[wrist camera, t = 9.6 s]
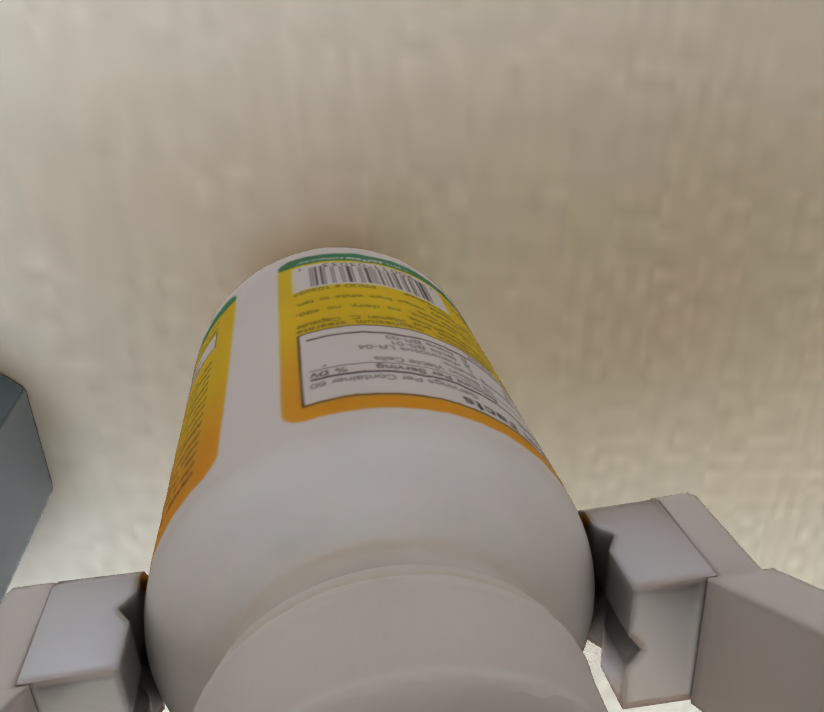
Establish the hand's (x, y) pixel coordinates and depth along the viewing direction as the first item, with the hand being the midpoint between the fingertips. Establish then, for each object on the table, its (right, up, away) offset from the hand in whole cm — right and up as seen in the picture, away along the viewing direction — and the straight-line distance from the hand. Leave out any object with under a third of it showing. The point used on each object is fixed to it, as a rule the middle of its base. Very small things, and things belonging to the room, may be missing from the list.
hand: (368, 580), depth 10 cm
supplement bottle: (-1, +3, +6) cm, 6 cm away
